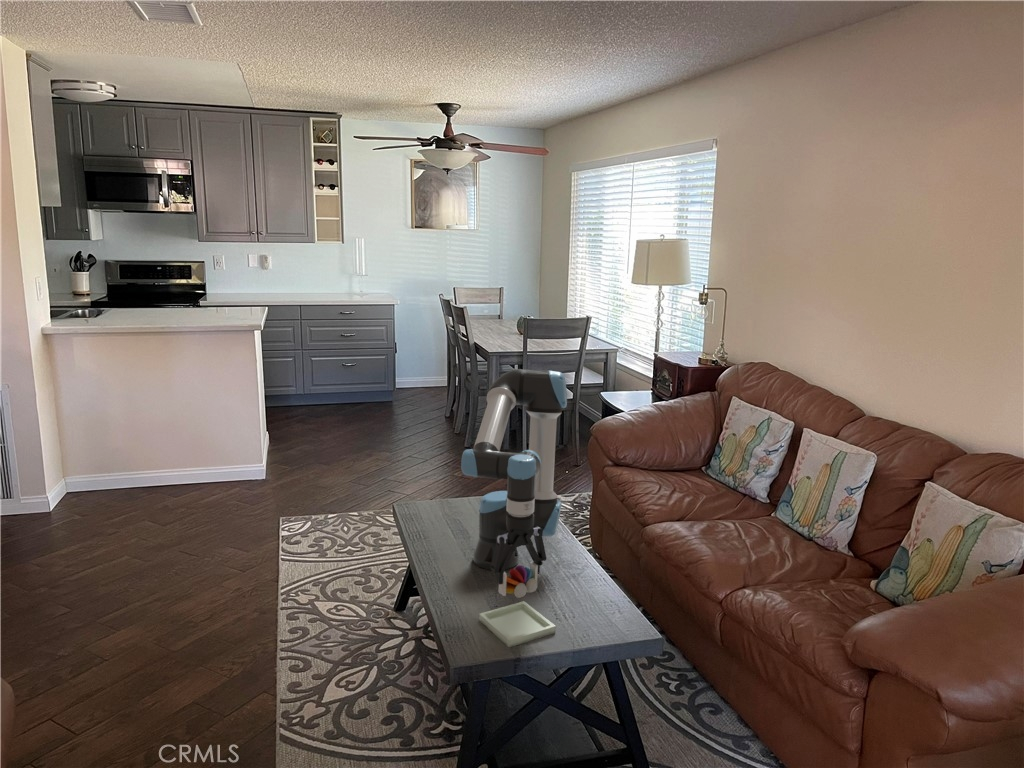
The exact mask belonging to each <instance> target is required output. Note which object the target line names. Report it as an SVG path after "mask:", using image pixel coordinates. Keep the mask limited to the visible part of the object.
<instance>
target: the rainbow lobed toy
mask: <svg viewBox="0 0 1024 768" xmlns="http://www.w3.org/2000/svg"><path fill="white" fill-rule="evenodd" d="M509 575H510V576H509ZM509 575H507V579H506V594H514V597H516V598H523V597H525V596H526V594H527V593H533V592H535V591H536V590H537V588H538V580H537V581H536V580H535V579H534V578H532V577H531V575H532V573H531V570H530V567H527V566H526V567H525V566H523V565H522V564H521V565H516V566H515V568H510V570H509Z"/></svg>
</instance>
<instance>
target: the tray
mask: <svg viewBox="0 0 1024 768" xmlns="http://www.w3.org/2000/svg"><path fill="white" fill-rule="evenodd" d="M478 615H479V617H478V619H479V622H480V623H482V624H483V626H485V627H486V628H487V629H488V630H489V631H490V632H491V633H493V634H494V635H495V636H496V638H498V639H499V640H500V641H501V642H502V643H503V644H505V646H507V647H508V648H512V647H515V646H518V645H521V644H525V643H527V642H531V641H535V640H537V639H540V638H542V637H546V636H547V637H548V636H549V635H552V634H556V631H557V629H556V627H557V626H556V625H555V624H554V623H553V622H551V621H550V620H549V619H548V618H546V617H545V616H544V615H542V614H541V613H540V612H539V611H538V610H536V609H535V608H534V607H532V605H529V604H528V603H527V602H526V601H525V600H523V601H520V602H519V601H518V602H516V603H512V604H509V605H505V606H502V607H498V608H495V609H492V610H488V611H485V612H481V613H478Z"/></svg>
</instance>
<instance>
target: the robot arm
mask: <svg viewBox="0 0 1024 768" xmlns="http://www.w3.org/2000/svg"><path fill="white" fill-rule="evenodd" d="M566 382H567V381H566V377H565V375H564V373H563V372H561V371H555V370H550V369H549V370H541V369H540V370H539V369H537V370H535V369H523V368H522V369H521V368H517V369H512V370H510V371H506V372H505V373H503V374H502V375H500V376H499V377H498V378H497V379H495V380H494V382H492V384H490V385H491V386H490V387H489V389H488V391H487V394H486V403H487V405H486V408H485V411H484V414H483V417H482V420H481V424H480V427H479V430H478V432H477V436H476V439H475V442H474V445H473V448H471V449H469V448H468V449H467V448H466V449H465V450H464V451H463V452H462V455H461V461H460V462H461V463H460V470H461V472H462V474H463V475H464V476H468V477H474V478H487V479H490V478H491V479H503V480H506V481H507V488H506V489H507V490H498V491H497V490H496V491H492V492H488V493H486V494H484V495H483V496H482V497H481V498H480V502H479V509H478V512H479V516H478V518H479V522H478V524H479V525H478V527H479V528H478V532H479V533H478V540H477V543H476V546H475V549H474V551H473V559H472V560H473V563H474V565H476V566H477V567H479V568H480V569H481V568H482V569H485V570H490V571H492V572H494V573H495V574H496V579H495V580H496V583H497V584H498V593H499V594H500V595H501V596H502V597H507V593H506V579H507V576H508V575H507V574H508V573H507V572H506V570H508V569H513V568H514V567H517V566H518V564H519V561H520V560H519V551H518V548H519V547H522V546H525V548H526V550H527V551H528V554H529V556H530V558H531V560H532V561H530V562H529V569H530V570H531V573H532V575H531V577H532V578H534V579H535V580H536V581H537V582H538V575H540V572H541V566H543V562H544V561H546V560H547V554H546V549H545V543H544V539H543V537H545V538H546V537H554V536H555V535H556V533H557V528H558V525H559V521H560V516H561V510H562V505H563V504H562V502H561V501H560V500H558V494H556V492H555V491H554V482H555V481H554V480H555V479H554V478H555V459H556V457H555V456H556V440H557V439H556V438H557V423H558V422H557V420H558V418H559V416H560V415H562V412H563V409H565V408H567V405H568V400H567V399H568V396H567V395H568V394H567V383H566ZM519 405H520V406H526V407H525V408H526V409H525V412H526V413H527V414H528V415H529V418H530V423H529V440H528V441H529V442H528V449H525V450H522V451H520V452H509V451H507V452H506V451H501V447H502V442H503V440H504V435H505V433H506V428H507V425H508V421H509V417H510V414H511V411H512V410H513V409H514V408H515V406H519ZM532 536H533V539H534V542H535V547H536V548H535V547H534V543H533V541H532V539H531V538H532Z"/></svg>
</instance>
